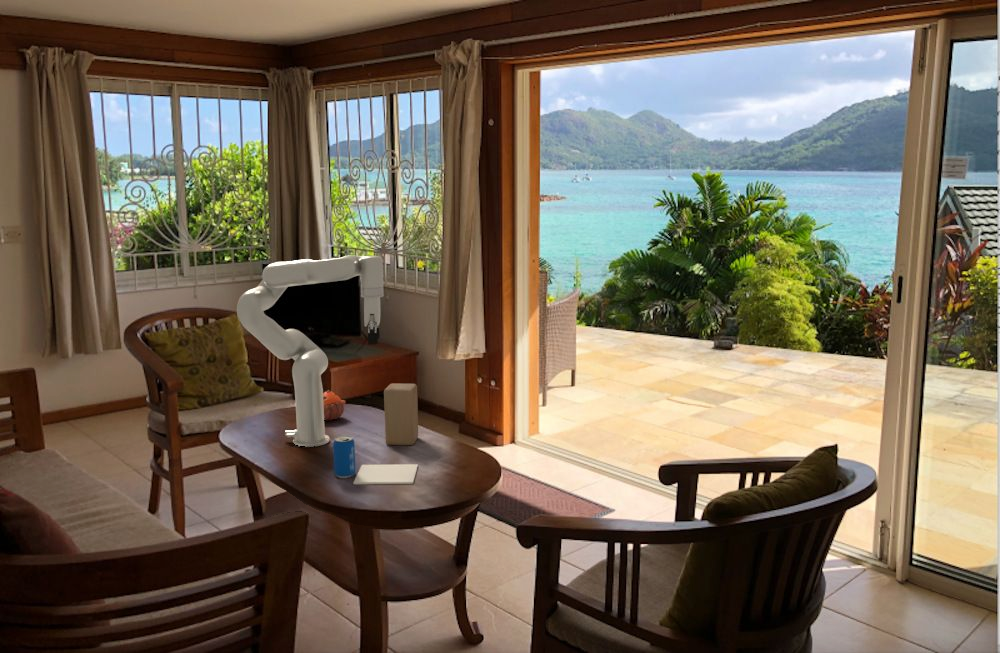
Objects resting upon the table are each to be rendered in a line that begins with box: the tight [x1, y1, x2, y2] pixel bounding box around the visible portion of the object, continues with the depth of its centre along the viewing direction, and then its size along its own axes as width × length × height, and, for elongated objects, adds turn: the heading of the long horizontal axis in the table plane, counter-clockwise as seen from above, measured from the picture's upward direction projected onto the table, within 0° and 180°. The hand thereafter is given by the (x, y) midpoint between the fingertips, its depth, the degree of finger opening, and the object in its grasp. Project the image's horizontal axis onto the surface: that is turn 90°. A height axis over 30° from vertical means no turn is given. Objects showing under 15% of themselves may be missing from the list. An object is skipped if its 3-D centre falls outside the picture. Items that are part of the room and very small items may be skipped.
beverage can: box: [332, 435, 356, 479], centre depth 260 cm, size 6×6×12 cm
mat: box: [353, 463, 419, 485], centre depth 261 cm, size 18×16×1 cm
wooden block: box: [383, 382, 419, 446], centre depth 293 cm, size 10×10×20 cm
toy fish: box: [323, 389, 346, 421], centre depth 321 cm, size 12×10×11 cm
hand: (373, 341), depth 287 cm, fingers open, 9 cm apart
